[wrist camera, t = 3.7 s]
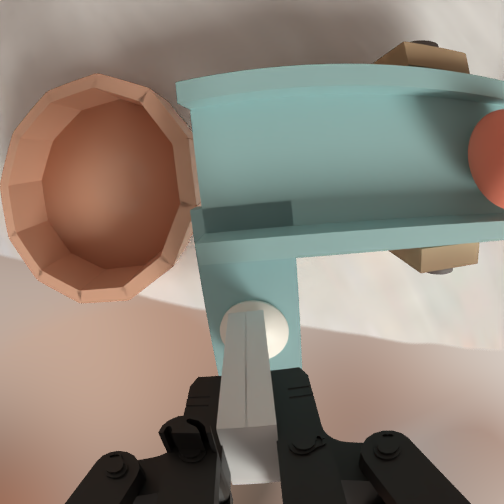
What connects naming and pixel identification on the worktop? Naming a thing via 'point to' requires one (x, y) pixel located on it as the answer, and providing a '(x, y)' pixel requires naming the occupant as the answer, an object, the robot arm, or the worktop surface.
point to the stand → (442, 59)
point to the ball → (488, 156)
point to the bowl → (100, 188)
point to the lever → (327, 178)
